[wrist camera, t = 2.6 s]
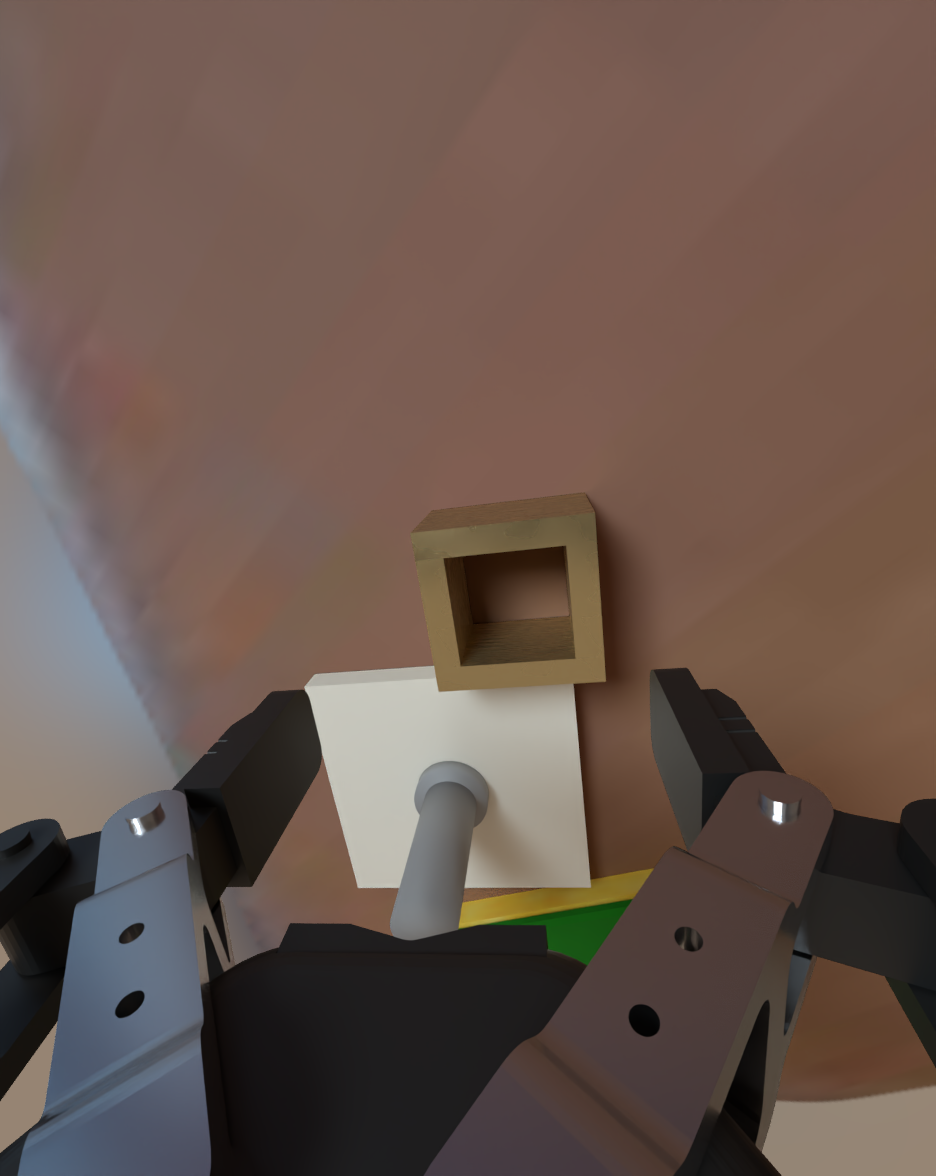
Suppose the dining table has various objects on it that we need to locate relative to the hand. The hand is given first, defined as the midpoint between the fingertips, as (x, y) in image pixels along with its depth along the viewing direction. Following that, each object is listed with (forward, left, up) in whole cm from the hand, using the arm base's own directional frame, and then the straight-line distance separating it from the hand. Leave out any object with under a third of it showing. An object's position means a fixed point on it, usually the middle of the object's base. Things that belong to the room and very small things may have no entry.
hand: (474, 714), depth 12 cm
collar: (-1, 0, -11) cm, 11 cm away
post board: (+3, +10, -11) cm, 15 cm away
